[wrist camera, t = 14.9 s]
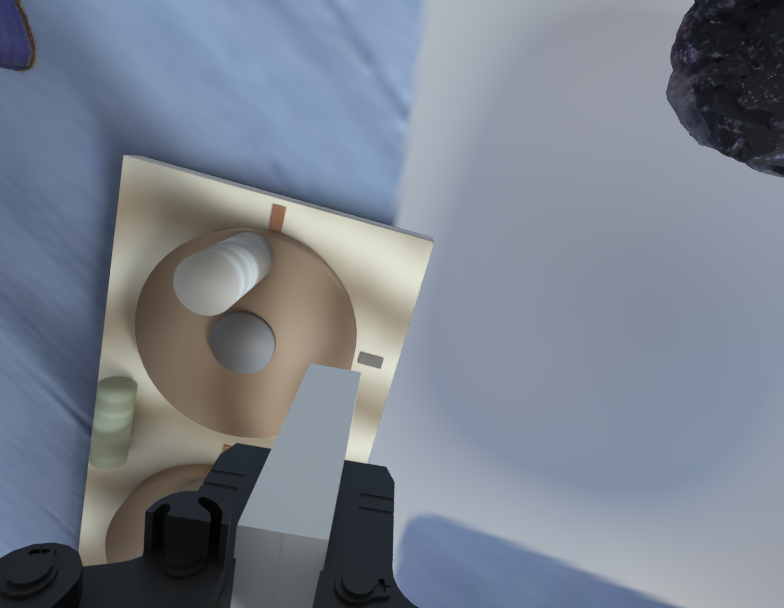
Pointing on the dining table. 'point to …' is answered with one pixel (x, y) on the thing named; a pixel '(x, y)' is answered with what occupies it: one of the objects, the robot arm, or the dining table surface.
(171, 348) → the dial
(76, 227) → the dining table surface
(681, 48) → the crystal cluster
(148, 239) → the base
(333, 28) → the dining table surface
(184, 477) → the dial
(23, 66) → the flask
